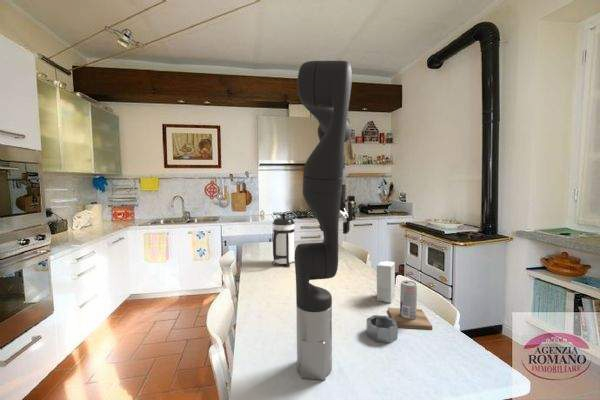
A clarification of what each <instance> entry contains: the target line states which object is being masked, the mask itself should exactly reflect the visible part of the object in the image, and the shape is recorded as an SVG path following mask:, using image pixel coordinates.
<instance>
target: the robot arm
mask: <svg viewBox="0 0 600 400" xmlns="http://www.w3.org/2000/svg"><path fill="white" fill-rule="evenodd" d="M352 73H353V72H352V67H351V63H350V62H348V61H347V60H310V61H306V62H303V63H302V64H301V66H300V67H299V70H298V73H297V81H296V82H297V84H296V85H297V86H296V87H297V94H298V97H299V100H300V102H301V104H302V105H303V107H304V108H305V109H306V110H307V111H308V112H309V113H310V114H312V115H313V117H314V119H316V120H317V122H318V128H317V136H318V140H319V141H318V143H317V145H316V146H315V147H314V149H313V150H312V152H311V153H310V154H309V157H308V158H307V159H306V161H305V164H304V166H303V170H302V171H303V172H302V173H303V174H302V175H303V177H302V195H303V198H304V200H305V203H306V205H307V206H308V207H309V209H310V211H311V213H312V214H313V215H314V218H315V219H316V220H317V222H318V223H319V229H320V231H321V232H322V233H323V241H322V242H309V243H307V242H305V243H299V244H297V245H296V247H295V248H294V258H295V259H294V262H295V263H294V270H295V272H294V273H295V288H296V289H295V296H296V297H295V298H296V299H295V300H296V309H295V310H296V367H297V372H298V373H299V374H300V378H301V379H311V380H321V381H324V380H326V378H327V377H328V376H329V375H330V374H331V372H332V370H333V323H332V322H333V303H332V302H333V299H332V298H333V297H332V294H331V292H330V291H329V290H327V289H326V288H323V287H320V286H318V285H317V286H316V285H314V284H311V283H310V281H313V280H314V281H315V280H326V279H333V278H334V277H335V276H336V274H337V273H338V268H339V267H338V266H339V221H340V220H339V219H340V218H341V219H342V221H343V222H342V234H344V235H347V234H348V233H349V232H350V222H351V221H355V220H356V204H355V201H346V197H347V191H346V190H347V186H346V185H347V177H346V175H347V174H346V154H345V143H347V142H348V141H349V140H350V138H351V135H352V127H351V125H350V123H349V121H348V114H349V108H350V107H349V106H350V100H351V91H352V83H353V82H352V79H353V78H352V76H353V74H352ZM345 208H347V210H346V209H345ZM347 211H348V212H347Z"/></svg>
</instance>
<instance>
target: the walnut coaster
mask: <svg viewBox="0 0 600 400" xmlns="http://www.w3.org/2000/svg"><path fill="white" fill-rule="evenodd" d="M387 312H388V314H389V316H390V317H389V318H391V319H394V320H395V321H396V324H397V326H398V328H404V329H405V328H406V329H422V330H423V329H424V330H433V324H432V323H431V322H430V321H429V319H428V318H427V315H426V314H425V313H424V311H423V309H420V308H417V310H416V318H415V319H412V320H409V319H405V318H403V317H402V316H401V315H400V307H388V308H387Z"/></svg>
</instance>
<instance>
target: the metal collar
mask: <svg viewBox="0 0 600 400" xmlns="http://www.w3.org/2000/svg"><path fill="white" fill-rule="evenodd" d="M365 330H366V334H367V337H368V338H369V339H371V340H373V341H375V342H376V343H380V344H381V343H385V344H392V342H395V341H397V340H398V334H399V331H398V330H399V327H398V326H397V324H396V321H395V320H394V319H391V317H389V316H387V315H380V314H378V315H376V314H372V315H371V316H369V317H367V318H366V329H365Z"/></svg>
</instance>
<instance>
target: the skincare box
mask: <svg viewBox="0 0 600 400" xmlns="http://www.w3.org/2000/svg"><path fill="white" fill-rule="evenodd" d="M395 265H396V264H395V261H389V260H388V261H387V260H381V261H380V262H379V263H378V264H377V265H376V300H377V301H378V302H384V303H389V304H391V303H392V301H393V300H394V299H395V297H396V274H395V273H396V272H395V270H396V269H395V268H396V267H395Z"/></svg>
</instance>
